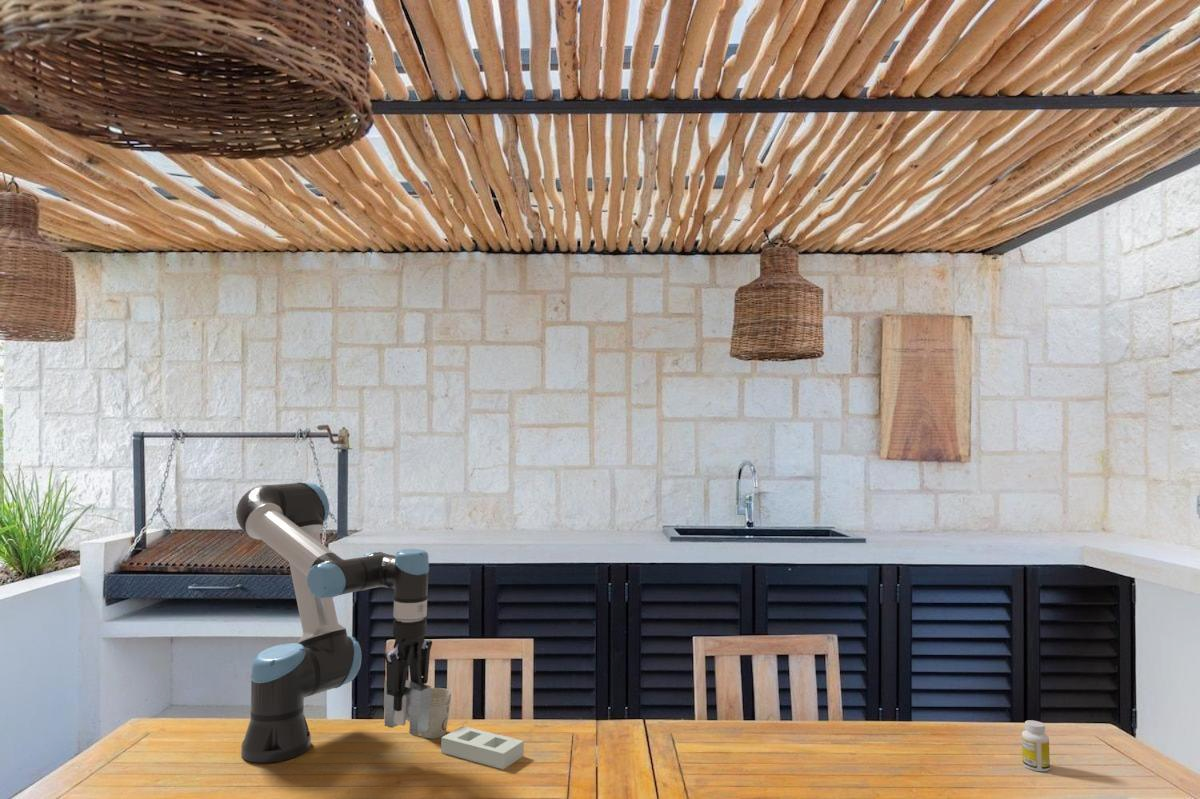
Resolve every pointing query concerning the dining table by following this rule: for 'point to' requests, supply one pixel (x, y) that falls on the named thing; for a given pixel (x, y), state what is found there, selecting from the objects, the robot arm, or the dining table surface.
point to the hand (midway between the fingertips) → (406, 720)
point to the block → (482, 747)
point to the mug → (437, 713)
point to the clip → (411, 706)
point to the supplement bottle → (1035, 746)
